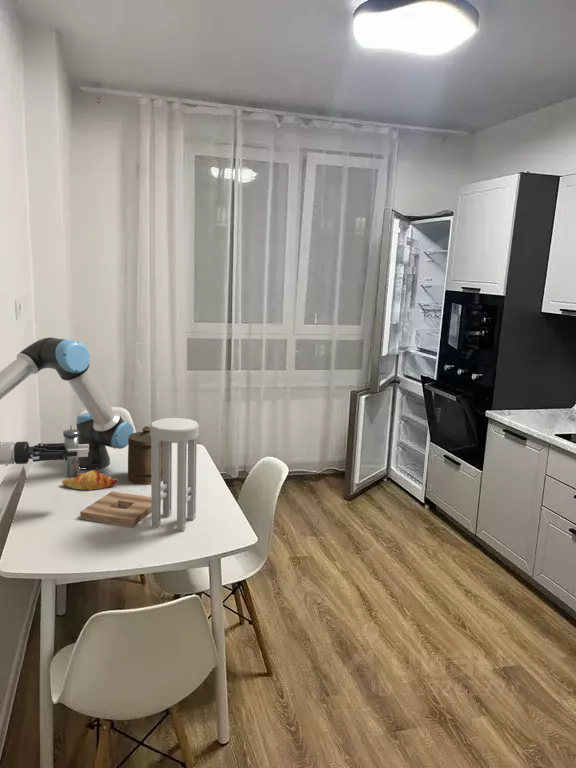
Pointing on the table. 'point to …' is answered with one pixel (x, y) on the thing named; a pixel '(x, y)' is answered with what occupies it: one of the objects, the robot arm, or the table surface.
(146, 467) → the wooden container
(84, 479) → the croissant
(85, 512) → the keeper block
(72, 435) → the link pin
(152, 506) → the stool
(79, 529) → the table surface
